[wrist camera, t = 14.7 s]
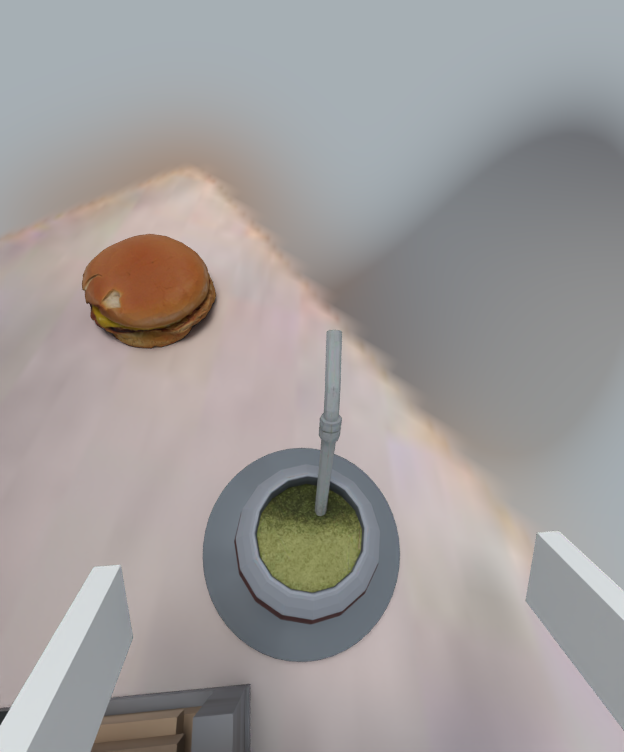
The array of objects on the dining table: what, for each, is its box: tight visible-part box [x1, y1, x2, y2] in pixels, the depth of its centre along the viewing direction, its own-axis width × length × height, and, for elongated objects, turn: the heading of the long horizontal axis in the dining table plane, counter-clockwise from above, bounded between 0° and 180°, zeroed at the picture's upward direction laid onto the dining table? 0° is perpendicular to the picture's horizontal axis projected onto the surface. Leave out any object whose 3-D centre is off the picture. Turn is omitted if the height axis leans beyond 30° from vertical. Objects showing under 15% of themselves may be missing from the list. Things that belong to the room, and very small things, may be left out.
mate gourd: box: [234, 330, 380, 625], centre depth 18 cm, size 8×8×15 cm
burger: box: [82, 234, 216, 348], centre depth 32 cm, size 10×9×5 cm
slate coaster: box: [203, 448, 400, 662], centre depth 25 cm, size 12×12×1 cm
